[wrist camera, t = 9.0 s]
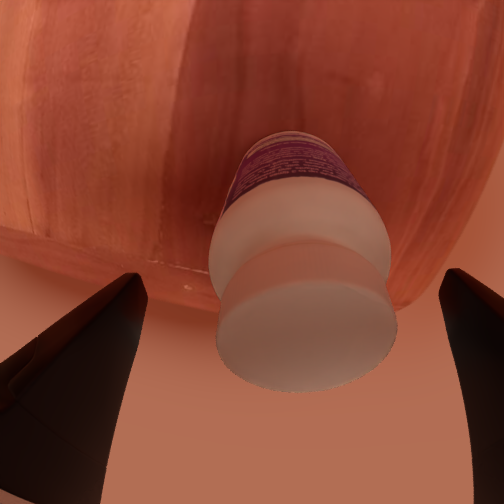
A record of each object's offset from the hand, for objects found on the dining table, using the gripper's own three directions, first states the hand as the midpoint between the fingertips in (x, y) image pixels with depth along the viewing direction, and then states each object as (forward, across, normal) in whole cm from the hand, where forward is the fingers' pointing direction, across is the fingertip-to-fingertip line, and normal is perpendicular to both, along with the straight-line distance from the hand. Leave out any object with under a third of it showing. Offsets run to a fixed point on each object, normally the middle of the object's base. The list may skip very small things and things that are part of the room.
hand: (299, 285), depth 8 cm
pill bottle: (+8, 0, 0) cm, 8 cm away
